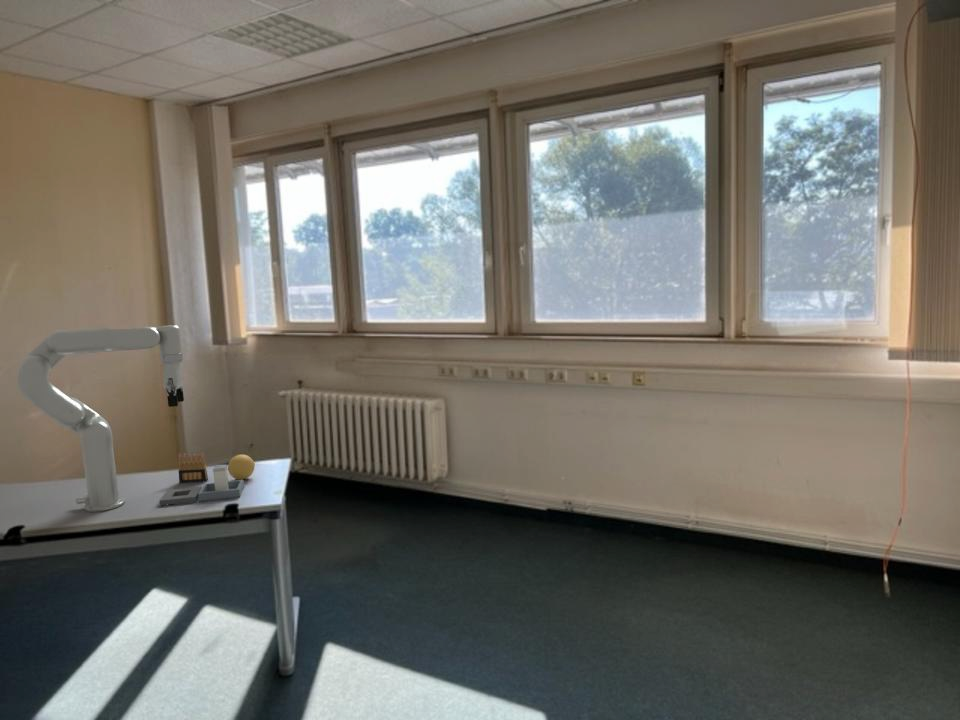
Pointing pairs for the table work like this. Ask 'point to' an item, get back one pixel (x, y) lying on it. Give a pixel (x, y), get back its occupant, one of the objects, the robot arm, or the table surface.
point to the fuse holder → (180, 496)
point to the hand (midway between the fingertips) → (176, 403)
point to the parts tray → (210, 493)
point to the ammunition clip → (192, 468)
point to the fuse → (220, 477)
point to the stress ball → (241, 467)
